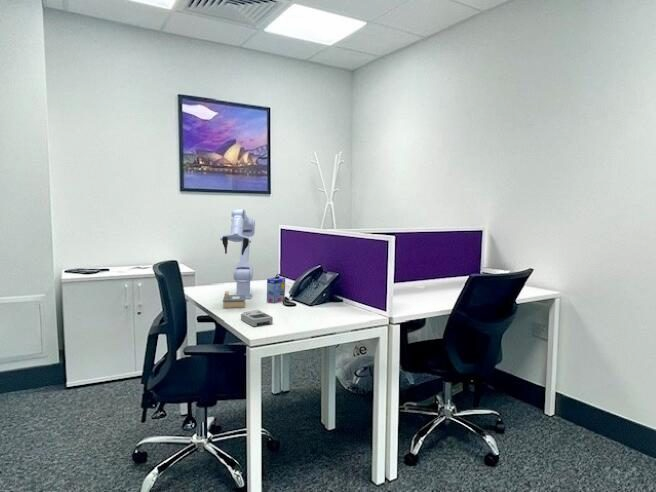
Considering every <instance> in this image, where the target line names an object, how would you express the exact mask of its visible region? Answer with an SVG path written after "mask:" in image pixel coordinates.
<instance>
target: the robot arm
mask: <svg viewBox="0 0 656 492" xmlns="http://www.w3.org/2000/svg"><path fill="white" fill-rule="evenodd" d="M230 217H231V225H230V226H231V227H230V233H229V234H220V237H219V239H220V241H222V245H223V248H224V255H225V254H227V253H228V244H229V241H230V242H233V243H241V244H240V254H239V257H240V258H239V262H238V264H236V265H234V269H233V280H234V281H235V282H236V295H245V300H247V299H250V300H251V299H252V294H251V281H252V280H253V278H254V267H253V265H251V264H250V263H249V256H250V245H251V243H252V237H253V236H255V233H256V232H255V231H256V230H255V229H256V220H255V219H254V218H253V217H249V216H248V215H247V214H246V209H241V208H239V209H233V210H231V216H230Z"/></svg>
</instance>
